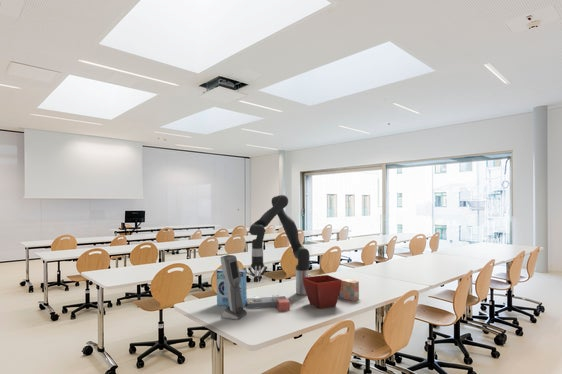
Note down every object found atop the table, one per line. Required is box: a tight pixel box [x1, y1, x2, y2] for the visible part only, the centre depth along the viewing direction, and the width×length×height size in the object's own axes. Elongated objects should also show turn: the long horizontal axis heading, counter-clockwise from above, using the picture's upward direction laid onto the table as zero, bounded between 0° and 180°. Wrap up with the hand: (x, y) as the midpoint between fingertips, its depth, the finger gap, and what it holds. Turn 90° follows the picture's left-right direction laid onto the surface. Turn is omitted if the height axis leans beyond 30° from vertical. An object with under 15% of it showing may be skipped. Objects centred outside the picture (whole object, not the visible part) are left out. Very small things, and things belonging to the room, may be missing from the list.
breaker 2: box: [271, 294, 280, 301], centre depth 225 cm, size 4×5×2 cm
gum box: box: [216, 268, 248, 308], centre depth 223 cm, size 20×5×23 cm, turn 72°
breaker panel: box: [246, 295, 287, 309], centre depth 223 cm, size 26×12×4 cm, turn 100°
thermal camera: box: [220, 254, 248, 321], centre depth 203 cm, size 12×13×35 cm
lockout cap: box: [277, 297, 291, 312], centre depth 214 cm, size 7×8×5 cm
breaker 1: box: [253, 295, 262, 302], centre depth 222 cm, size 4×5×2 cm
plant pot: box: [303, 274, 342, 309], centre depth 221 cm, size 19×19×17 cm
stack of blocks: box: [338, 278, 360, 302], centre depth 238 cm, size 21×6×12 cm, turn 47°
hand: (257, 281), depth 223 cm, fingers closed
